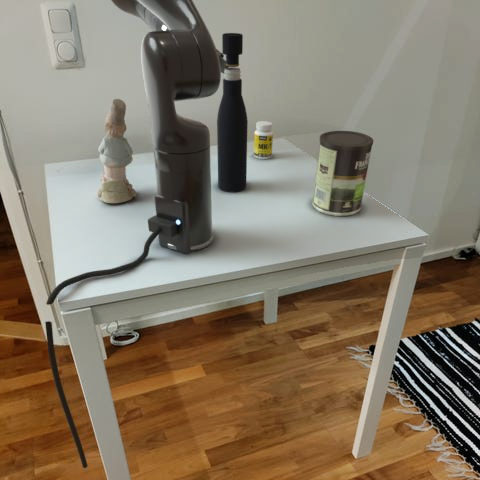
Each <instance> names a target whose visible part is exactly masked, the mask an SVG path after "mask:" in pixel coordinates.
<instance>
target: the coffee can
mask: <svg viewBox="0 0 480 480" xmlns="http://www.w3.org/2000/svg"><path fill="white" fill-rule="evenodd" d="M373 144H374V139H373V137H371V136H370V135H367V134H365V133H363V132H357V131H353V130H352V131H351V130H331V131H330V130H329V131H327V132H324V133H321V134H319V146H318V154H317V164H316V172H315V181H314V190H313V192H314V193H313V200H312V204H311V205H312V207H313V209H315V210H317V212H319V213H322V214H325V215H328V216H335V217H349V216H353V215H356V214H357V213H359V212H360V211H361V209H362V202H363V196H364V191H365V185H366V179H367V174H368V170H369V164H370V159H371V153H372V147H373Z"/></svg>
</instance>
